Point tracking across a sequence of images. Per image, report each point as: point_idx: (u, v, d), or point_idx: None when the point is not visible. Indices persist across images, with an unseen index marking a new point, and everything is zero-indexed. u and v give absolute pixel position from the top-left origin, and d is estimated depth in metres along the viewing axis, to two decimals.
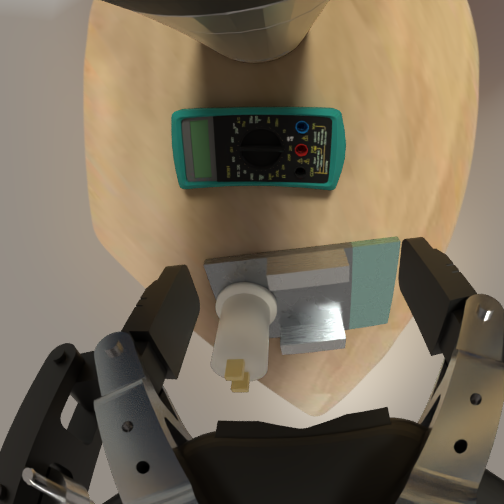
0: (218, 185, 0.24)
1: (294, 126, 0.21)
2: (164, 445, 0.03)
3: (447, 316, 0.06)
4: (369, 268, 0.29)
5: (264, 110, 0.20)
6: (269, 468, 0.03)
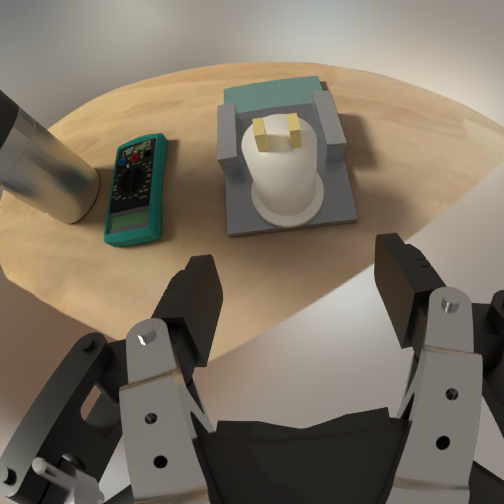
0: (151, 201, 0.30)
1: (121, 165, 0.32)
2: (186, 442, 0.04)
3: (413, 309, 0.07)
4: (247, 101, 0.33)
5: None
6: (269, 468, 0.03)
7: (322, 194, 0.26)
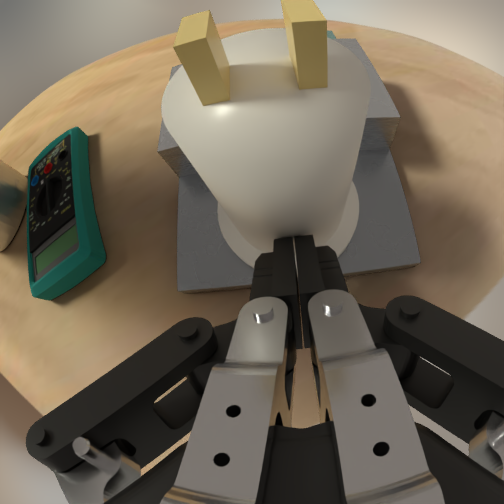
0: (78, 209, 0.17)
1: (35, 185, 0.19)
2: (258, 450, 0.03)
3: (303, 309, 0.08)
4: None
5: (27, 214, 0.18)
6: (269, 468, 0.03)
7: (356, 212, 0.13)
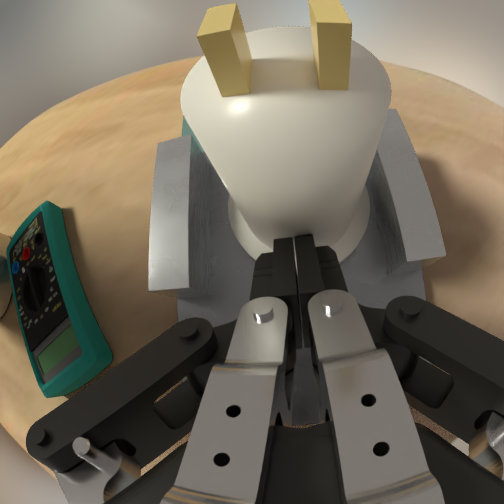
0: (70, 309, 0.15)
1: (17, 273, 0.17)
2: (258, 450, 0.03)
3: (304, 309, 0.08)
4: None
5: (16, 306, 0.16)
6: (269, 468, 0.03)
7: (366, 217, 0.13)
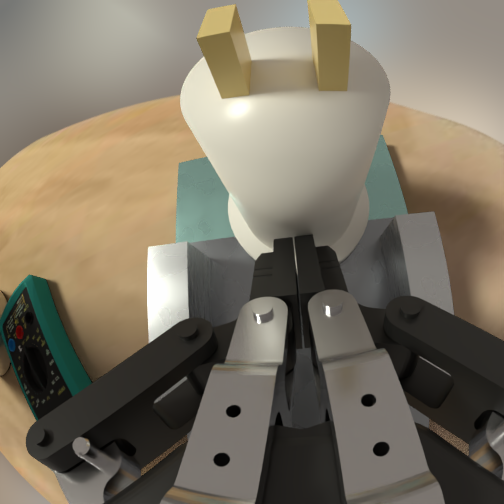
0: (75, 394, 0.13)
1: (14, 351, 0.15)
2: (258, 450, 0.03)
3: (304, 309, 0.08)
4: (227, 203, 0.16)
5: (21, 384, 0.14)
6: (269, 468, 0.03)
7: (366, 217, 0.13)
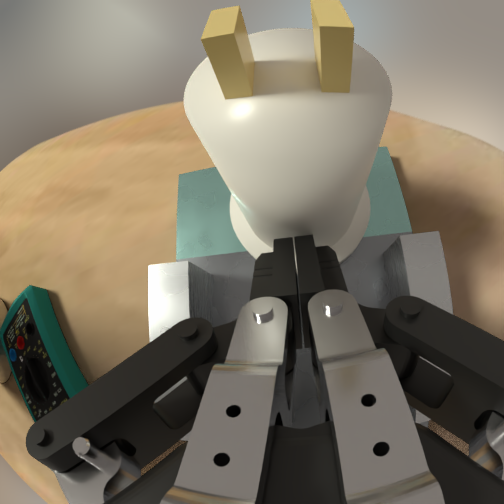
0: None
1: (15, 361, 0.15)
2: (258, 450, 0.03)
3: (303, 309, 0.08)
4: (228, 218, 0.15)
5: (22, 393, 0.14)
6: (269, 468, 0.03)
7: (367, 217, 0.13)
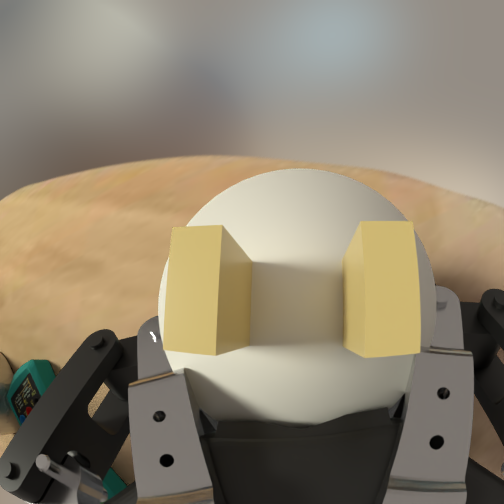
0: None
1: None
2: (193, 442, 0.04)
3: None
4: None
5: None
6: (269, 468, 0.03)
7: None
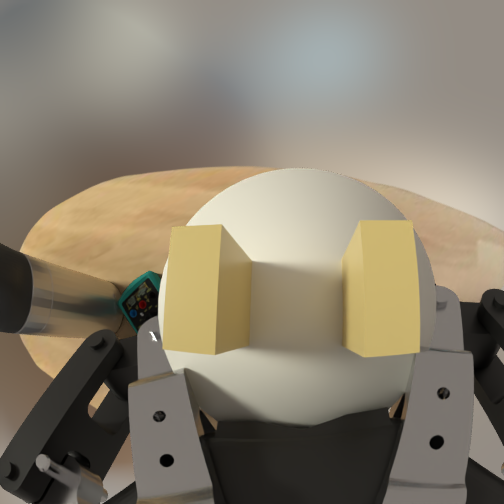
0: None
1: (135, 317, 0.35)
2: (194, 442, 0.04)
3: None
4: None
5: None
6: (269, 468, 0.03)
7: None
